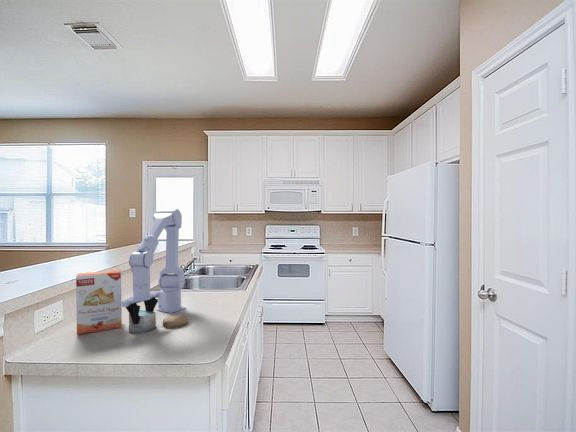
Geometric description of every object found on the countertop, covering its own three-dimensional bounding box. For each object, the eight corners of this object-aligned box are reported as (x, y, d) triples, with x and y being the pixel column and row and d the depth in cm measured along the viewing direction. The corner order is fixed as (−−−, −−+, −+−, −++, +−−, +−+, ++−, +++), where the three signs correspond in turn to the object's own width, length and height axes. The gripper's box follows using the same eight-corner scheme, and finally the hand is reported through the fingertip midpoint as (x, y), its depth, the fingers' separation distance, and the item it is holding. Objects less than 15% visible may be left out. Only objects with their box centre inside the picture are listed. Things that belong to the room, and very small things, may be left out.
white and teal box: (129, 324, 114) (128, 313, 114) (141, 320, 119) (141, 309, 119) (143, 327, 111) (143, 316, 110) (155, 323, 115) (155, 312, 115)
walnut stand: (157, 325, 117) (157, 321, 117) (176, 318, 125) (176, 313, 125) (174, 329, 113) (174, 324, 113) (192, 321, 121) (192, 317, 121)
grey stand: (123, 330, 113) (123, 325, 113) (145, 322, 121) (144, 318, 121) (139, 335, 109) (139, 329, 108) (161, 326, 116) (161, 321, 116)
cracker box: (76, 335, 109) (75, 275, 109) (78, 330, 114) (77, 272, 114) (121, 328, 116) (120, 271, 115) (122, 323, 121) (120, 269, 121)
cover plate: (132, 315, 114) (132, 313, 114) (140, 313, 117) (140, 311, 117) (144, 318, 112) (144, 316, 112) (152, 315, 115) (152, 313, 115)
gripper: (130, 289, 106) (131, 329, 106) (165, 281, 119) (166, 316, 119) (117, 287, 109) (118, 326, 110) (152, 279, 122) (153, 314, 122)
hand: (142, 321), depth 115 cm, fingers closed on white and teal box, 5 cm apart
